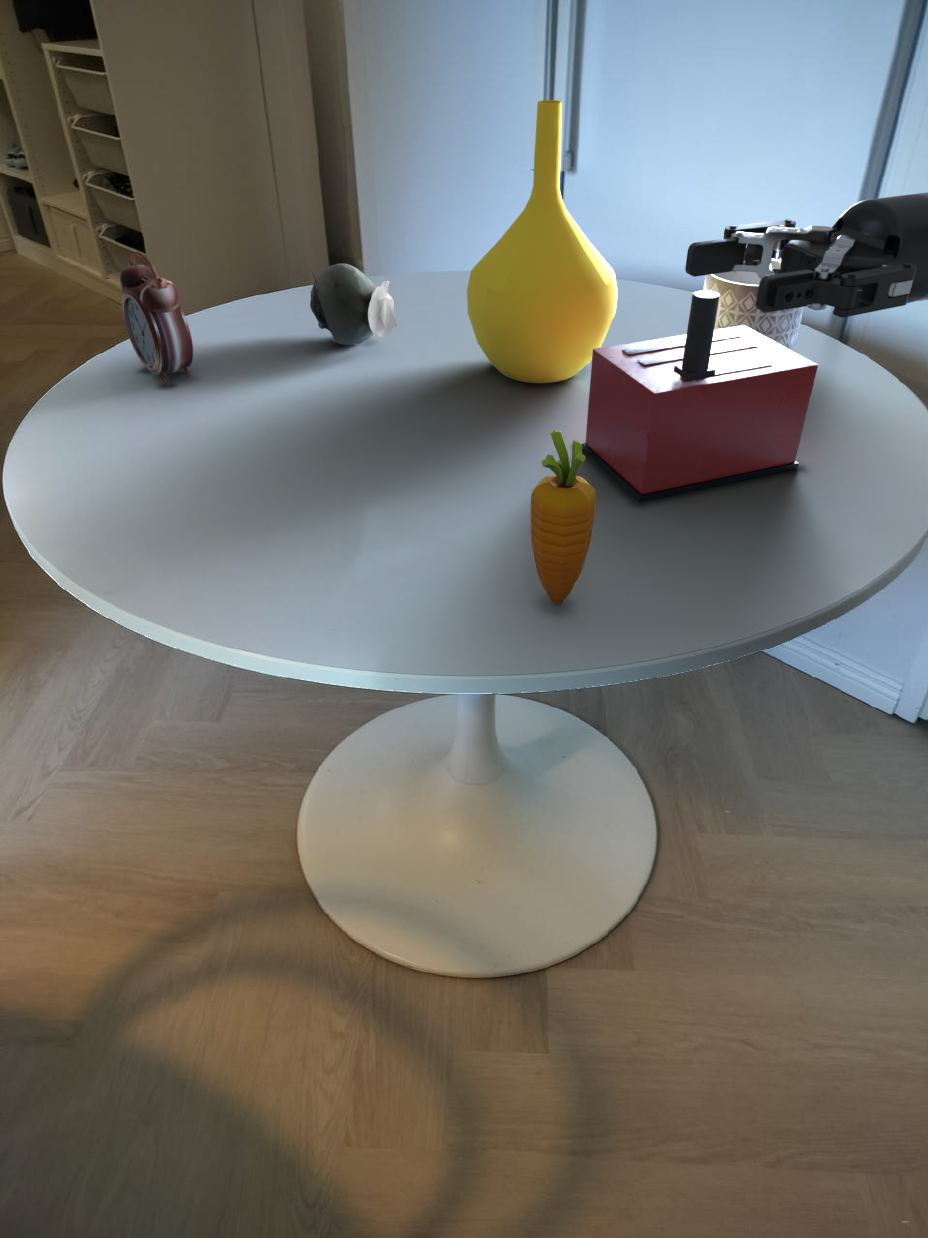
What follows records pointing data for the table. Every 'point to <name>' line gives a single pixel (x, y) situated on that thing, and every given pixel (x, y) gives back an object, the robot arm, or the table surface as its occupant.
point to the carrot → (561, 521)
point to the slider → (699, 336)
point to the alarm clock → (155, 319)
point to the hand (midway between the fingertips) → (722, 276)
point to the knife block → (696, 413)
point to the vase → (542, 280)
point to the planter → (752, 307)
